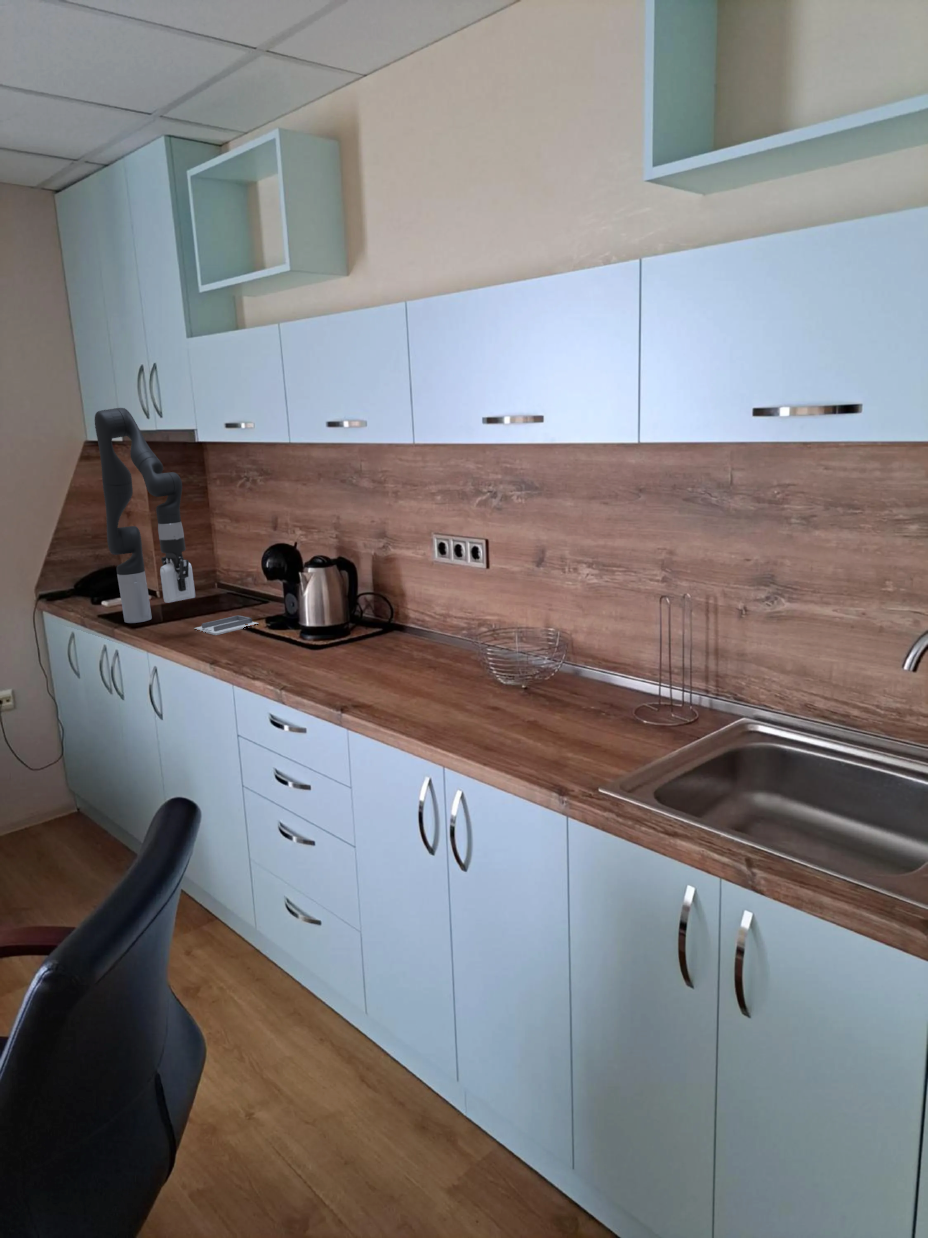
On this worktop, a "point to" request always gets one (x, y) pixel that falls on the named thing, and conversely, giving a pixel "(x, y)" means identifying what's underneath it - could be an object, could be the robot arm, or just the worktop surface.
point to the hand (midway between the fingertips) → (178, 589)
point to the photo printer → (176, 584)
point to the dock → (226, 625)
